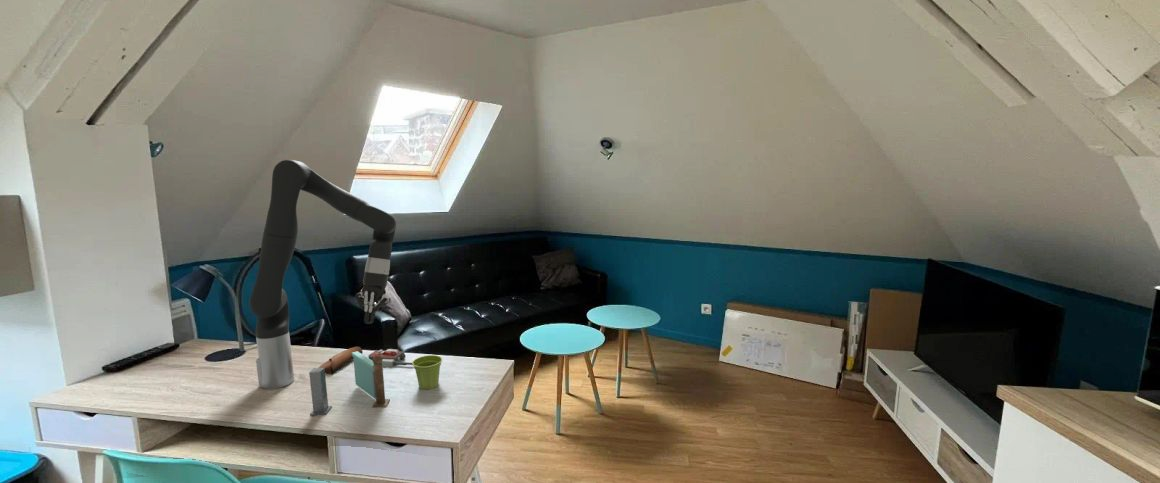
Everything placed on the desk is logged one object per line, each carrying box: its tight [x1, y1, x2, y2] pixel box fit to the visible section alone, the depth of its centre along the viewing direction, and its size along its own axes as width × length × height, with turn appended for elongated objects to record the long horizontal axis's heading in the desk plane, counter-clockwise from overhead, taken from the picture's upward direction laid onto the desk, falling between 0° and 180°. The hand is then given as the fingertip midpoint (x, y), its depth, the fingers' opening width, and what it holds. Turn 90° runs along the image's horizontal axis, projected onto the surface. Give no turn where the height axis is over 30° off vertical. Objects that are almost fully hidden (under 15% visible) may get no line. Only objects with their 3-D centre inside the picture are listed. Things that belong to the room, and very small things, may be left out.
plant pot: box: [411, 354, 443, 390], centre depth 157 cm, size 9×9×9 cm
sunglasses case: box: [317, 346, 363, 375], centre depth 176 cm, size 18×7×7 cm
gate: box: [352, 351, 377, 401], centre depth 151 cm, size 16×2×11 cm, turn 46°
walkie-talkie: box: [367, 348, 413, 368], centre depth 177 cm, size 9×4×20 cm
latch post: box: [308, 367, 333, 417], centre depth 140 cm, size 4×4×13 cm
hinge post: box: [372, 355, 391, 409], centre depth 144 cm, size 4×4×16 cm
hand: (368, 323), depth 159 cm, fingers closed
